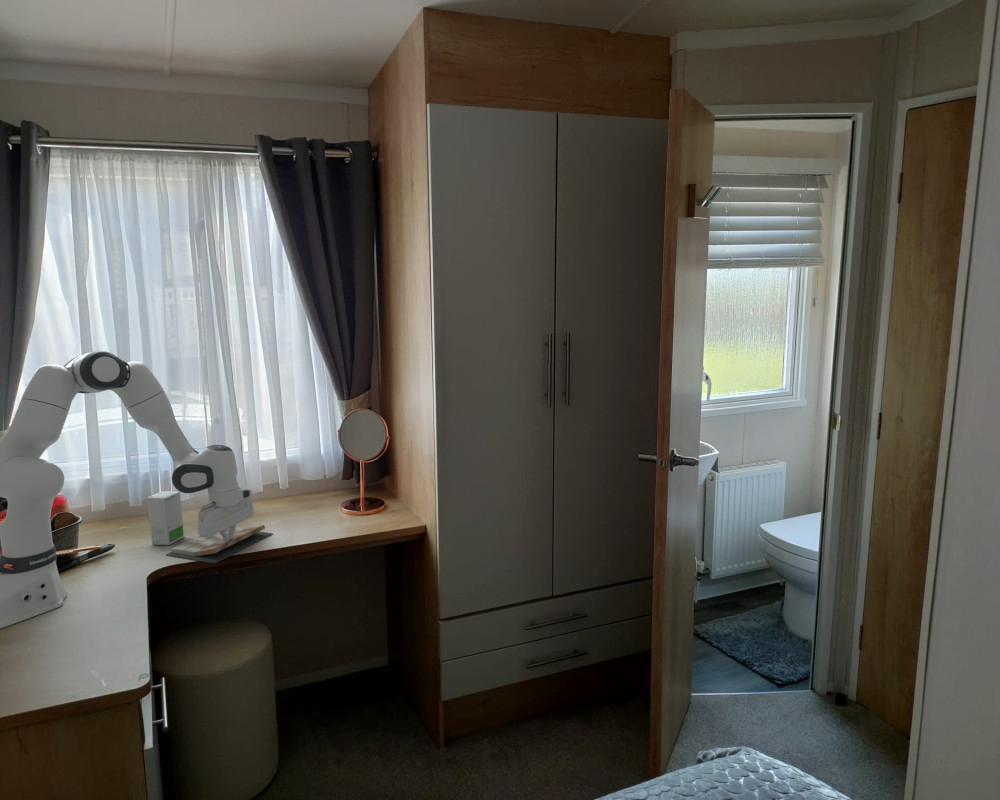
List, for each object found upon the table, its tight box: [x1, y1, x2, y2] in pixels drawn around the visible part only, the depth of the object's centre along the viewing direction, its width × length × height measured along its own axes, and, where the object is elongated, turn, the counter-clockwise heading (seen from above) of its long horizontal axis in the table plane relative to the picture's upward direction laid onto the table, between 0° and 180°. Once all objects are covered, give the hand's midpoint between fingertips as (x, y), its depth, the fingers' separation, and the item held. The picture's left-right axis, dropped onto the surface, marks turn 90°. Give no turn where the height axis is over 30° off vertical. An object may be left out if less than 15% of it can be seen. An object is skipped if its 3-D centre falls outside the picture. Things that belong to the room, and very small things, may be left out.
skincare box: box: [146, 490, 185, 546], centre depth 230 cm, size 8×7×16 cm
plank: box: [195, 524, 266, 556], centre depth 225 cm, size 22×8×1 cm, turn 158°
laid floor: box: [171, 526, 245, 556], centre depth 229 cm, size 22×9×1 cm, turn 158°
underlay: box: [165, 531, 274, 565], centre depth 227 cm, size 26×19×1 cm
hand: (228, 540), depth 221 cm, fingers closed, pressing on plank
